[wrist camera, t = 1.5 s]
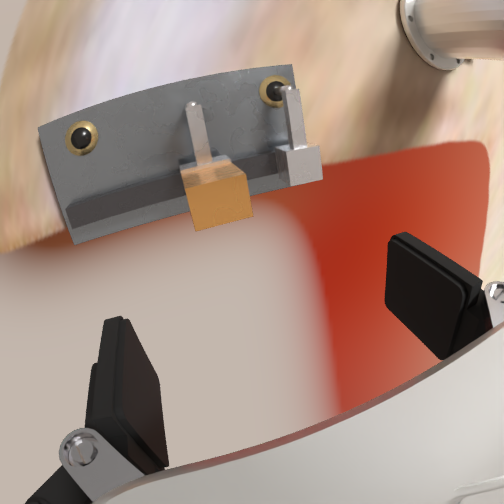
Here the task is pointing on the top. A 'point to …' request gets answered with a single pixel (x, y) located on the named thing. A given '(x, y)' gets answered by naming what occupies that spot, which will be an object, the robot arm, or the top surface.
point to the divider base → (174, 147)
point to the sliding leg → (212, 180)
